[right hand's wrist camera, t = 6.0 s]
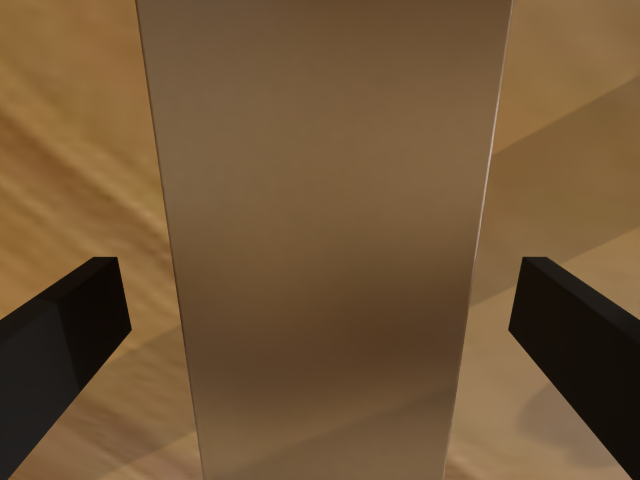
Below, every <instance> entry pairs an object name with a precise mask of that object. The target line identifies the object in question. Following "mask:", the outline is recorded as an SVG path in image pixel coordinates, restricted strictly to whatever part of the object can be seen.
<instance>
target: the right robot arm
mask: <svg viewBox="0 0 640 480" xmlns="http://www.w3.org/2000/svg"><path fill="white" fill-rule="evenodd" d="M131 330H132V328H131V323H130V318H129V313H128V308H127V303H126V298H125V293H124V288H123V283H122V278H121V273H120V268H119V263H118V258H117V257H93V258H91V259H90V260H88V261H87V262H85V263H84V264H82V265H81V266H79V267H78V268H76V269H75V270H74V271H72V272H71V273H69V274H68V275H66V276H65V277H63V278H62V279H60V280H59V281H57V282H56V283H54V284H53V285H51V286H50V287H48V288H47V289H45V290H44V291H43V292H41V293H40V294H38V295H37V296H35V297H34V298H32V299H31V300H29V301H28V302H26V303H25V304H23V305H22V306H20V307H19V308H17V309H16V310H15V311H13V312H12V313H10V314H9V315H7V316H6V317H4V318H3V319H1V320H0V480H8V478H9V477H10V476H11V475H12V474H13V472H14V471H15V470H16V469H17V468H18V466H19V465H20V464H21V463H22V462H23V460H24V459H25V458H26V457H27V456H28V454H29V453H30V452H31V451H32V450H33V448H34V447H35V446H36V445H37V444H38V442H39V441H40V440H41V439H42V438H43V436H44V435H45V434H46V433H47V432H48V430H49V429H50V428H51V427H52V426H53V424H54V423H55V422H56V421H57V419H58V418H59V417H60V416H61V415H62V413H63V412H64V411H65V410H66V409H67V407H68V406H69V405H70V404H71V403H72V401H73V400H74V399H75V398H76V397H77V395H78V394H79V393H80V392H81V391H82V389H83V388H84V387H85V386H86V385H87V383H88V382H89V381H90V380H91V379H92V377H93V376H94V375H95V374H96V373H97V371H98V370H99V369H100V368H101V367H102V365H103V364H104V363H105V362H106V361H107V359H108V358H109V357H110V356H111V354H112V353H113V352H114V351H115V350H116V348H117V347H118V346H119V345H120V344H121V342H122V341H123V340H124V339H125V338H126V336H127V335H128V334H129V333H130V332H131ZM508 330H509V332H510V333H511V334H512V335H513V336H514V338H515V339H516V340H517V341H518V342H519V344H520V345H521V346H522V347H523V348H524V350H525V351H526V352H527V353H528V354H529V356H530V357H531V358H532V359H533V361H534V362H535V363H536V364H537V365H538V367H539V368H540V369H541V370H542V371H543V373H544V374H545V375H546V376H547V377H548V379H549V380H550V381H551V382H552V383H553V385H554V386H555V387H556V388H557V389H558V391H559V392H560V393H561V394H562V395H563V397H564V398H565V399H566V400H567V401H568V403H569V404H570V405H571V406H572V407H573V409H574V410H575V411H576V412H577V413H578V415H579V416H580V417H581V418H582V420H583V421H584V422H585V423H586V424H587V426H588V427H589V428H590V429H591V430H592V432H593V433H594V434H595V435H596V436H597V438H598V439H599V440H600V441H601V442H602V444H603V445H604V446H605V447H606V448H607V450H608V451H609V452H610V453H611V454H612V456H613V457H614V458H615V459H616V460H617V462H618V463H619V464H620V465H621V466H622V468H623V469H624V470H625V471H626V472H627V474H628V475H629V476H630V477H631V478H632V480H640V320H639V319H637V318H636V317H634V316H633V315H631V314H630V313H628V312H627V311H625V310H624V309H623V308H621V307H620V306H618V305H617V304H615V303H614V302H612V301H611V300H609V299H608V298H606V297H605V296H603V295H602V294H600V293H599V292H597V291H596V290H595V289H593V288H592V287H590V286H589V285H587V284H586V283H584V282H583V281H581V280H580V279H578V278H577V277H575V276H574V275H572V274H571V273H569V272H568V271H566V270H565V269H564V268H562V267H561V266H559V265H558V264H556V263H555V262H553V261H552V260H550V259H549V258H547V257H523V258H522V263H521V268H520V273H519V278H518V283H517V288H516V293H515V298H514V303H513V308H512V313H511V318H510V323H509V328H508Z"/></svg>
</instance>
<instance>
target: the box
mask: <svg viewBox="0 0 640 480" xmlns="http://www.w3.org/2000/svg"><path fill="white" fill-rule="evenodd" d="M135 3H136V10H137V17H138V24H139V31H140V38H141V45H142V52H143V59H144V66H145V73H146V80H147V87H148V94H149V101H150V108H151V115H152V122H153V129H154V136H155V143H156V150H157V157H158V164H159V171H160V178H161V185H162V192H163V199H164V206H165V213H166V220H167V227H168V234H169V241H170V248H171V255H172V262H173V269H174V276H175V283H176V290H177V297H178V304H179V311H180V318H181V325H182V332H183V339H184V346H185V353H186V360H187V367H188V374H189V381H190V388H191V395H192V402H193V409H194V416H195V423H196V430H197V437H198V444H199V451H200V458H201V465H202V472H203V479H204V480H443V479H444V473H445V466H446V459H447V452H448V446H449V439H450V432H451V425H452V418H453V412H454V405H455V398H456V391H457V384H458V378H459V371H460V364H461V357H462V350H463V344H464V337H465V330H466V323H467V316H468V310H469V303H470V296H471V289H472V282H473V276H474V269H475V262H476V255H477V248H478V242H479V235H480V228H481V221H482V214H483V208H484V201H485V194H486V187H487V180H488V174H489V167H490V160H491V153H492V146H493V140H494V133H495V126H496V119H497V113H498V106H499V99H500V92H501V85H502V79H503V72H504V65H505V58H506V51H507V45H508V38H509V31H510V24H511V17H512V11H513V4H514V0H135Z"/></svg>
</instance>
